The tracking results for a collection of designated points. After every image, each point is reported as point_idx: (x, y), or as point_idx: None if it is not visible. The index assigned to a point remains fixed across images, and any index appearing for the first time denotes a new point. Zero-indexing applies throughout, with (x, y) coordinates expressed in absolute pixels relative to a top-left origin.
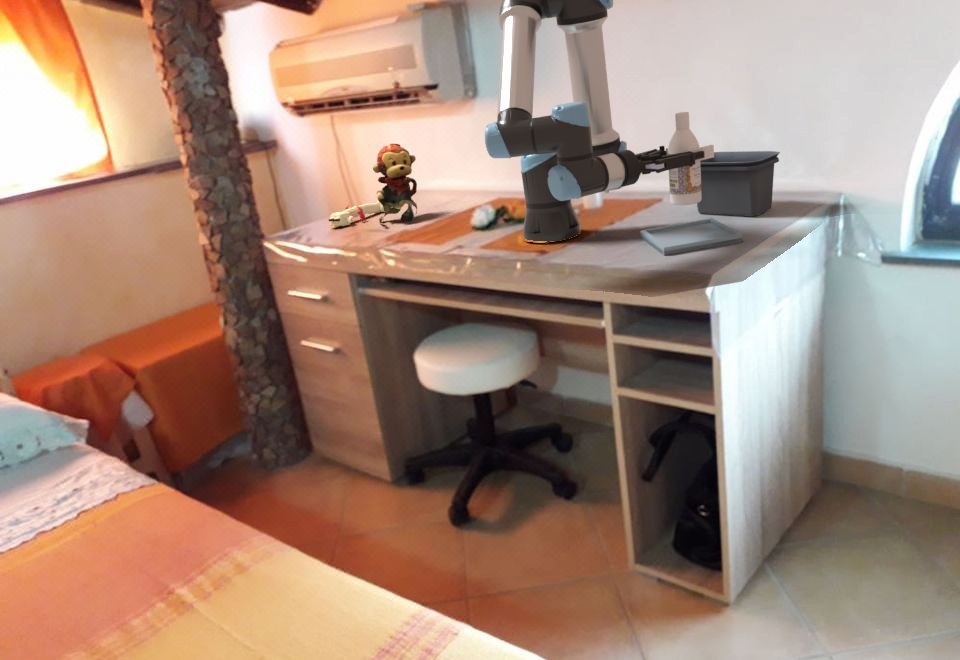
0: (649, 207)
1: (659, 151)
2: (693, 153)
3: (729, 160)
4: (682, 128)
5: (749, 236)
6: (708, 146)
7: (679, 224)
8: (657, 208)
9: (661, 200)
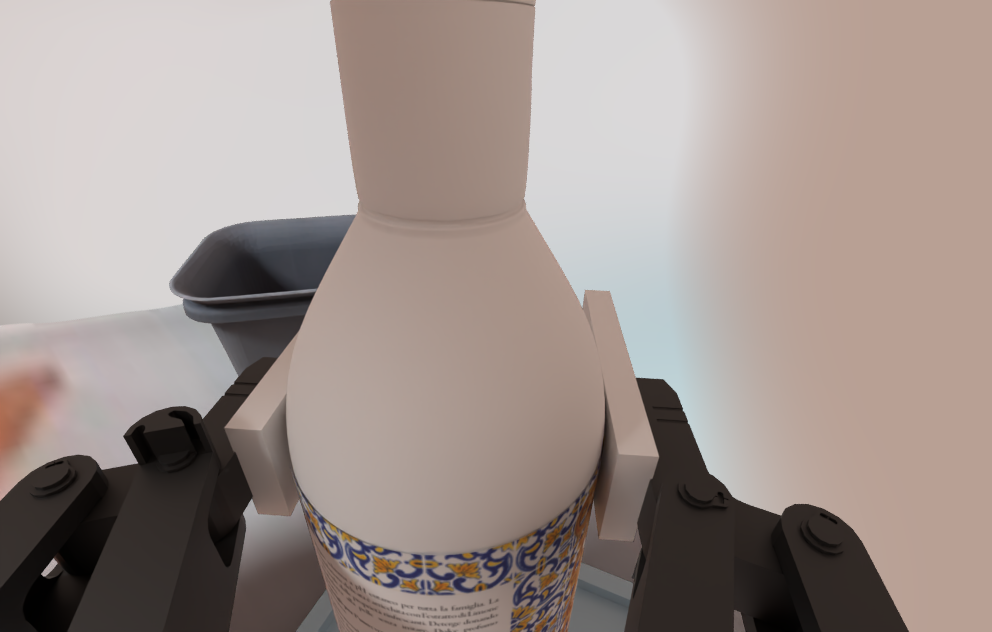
0: (27, 439)
1: (188, 548)
2: (862, 545)
3: (303, 246)
4: (502, 201)
5: (620, 549)
6: (616, 317)
7: (320, 620)
8: (70, 438)
9: (58, 378)
